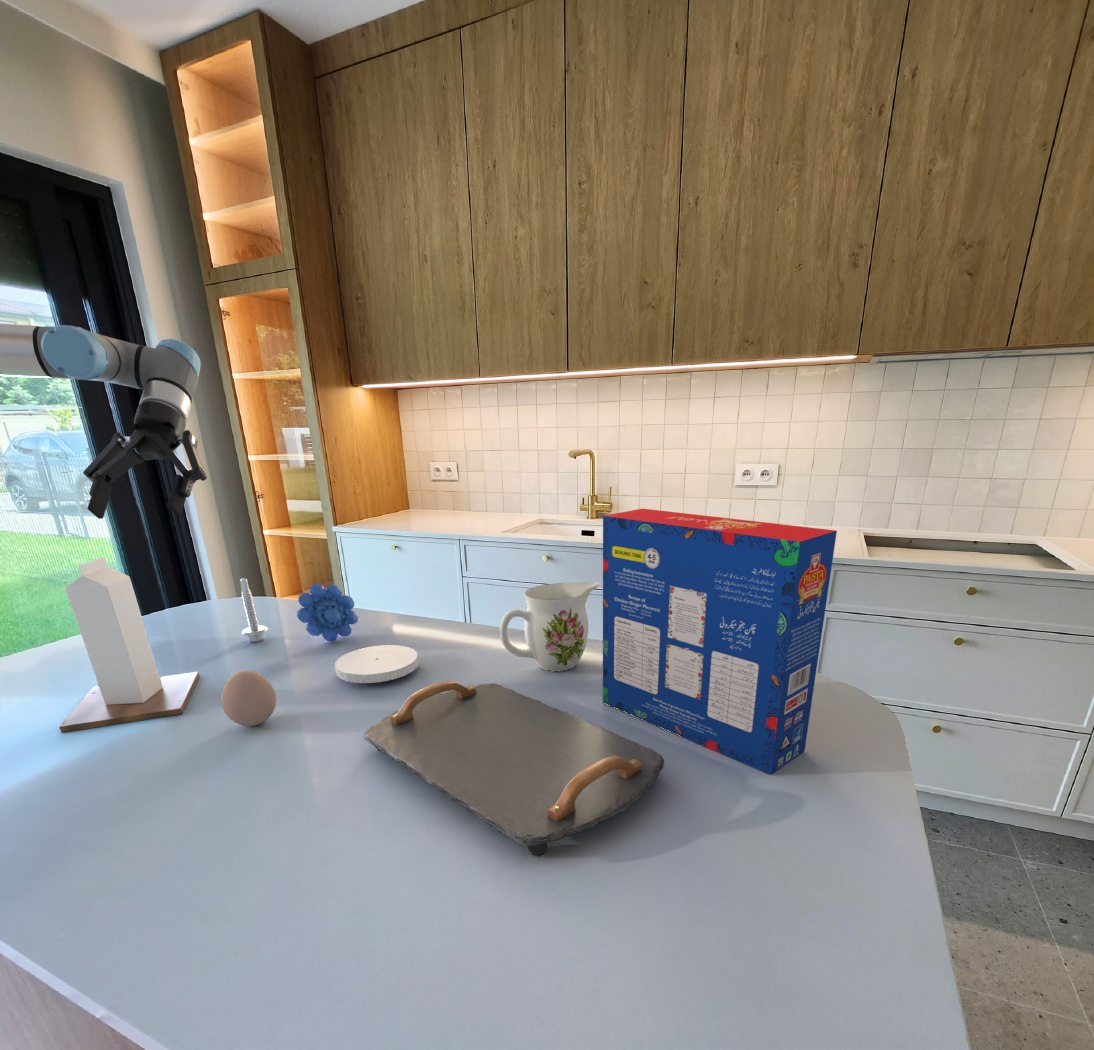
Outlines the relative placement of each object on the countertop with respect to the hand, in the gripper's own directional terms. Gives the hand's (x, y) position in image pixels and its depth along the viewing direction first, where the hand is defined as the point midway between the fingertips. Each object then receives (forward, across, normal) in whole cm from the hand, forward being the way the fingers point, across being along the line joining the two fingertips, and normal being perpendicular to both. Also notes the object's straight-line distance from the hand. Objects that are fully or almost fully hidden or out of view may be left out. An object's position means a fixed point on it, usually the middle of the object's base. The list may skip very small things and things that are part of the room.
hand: (134, 512), depth 104 cm
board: (+31, -2, -8) cm, 32 cm away
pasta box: (+39, -90, 0) cm, 98 cm away
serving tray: (+46, -64, +6) cm, 79 cm away
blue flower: (+12, -26, -27) cm, 39 cm away
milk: (+30, -2, -8) cm, 31 cm away
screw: (+10, -9, -29) cm, 32 cm away
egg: (+37, -26, -2) cm, 45 cm away
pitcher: (+23, -70, -17) cm, 75 cm away
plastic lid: (+24, -39, -16) cm, 48 cm away
